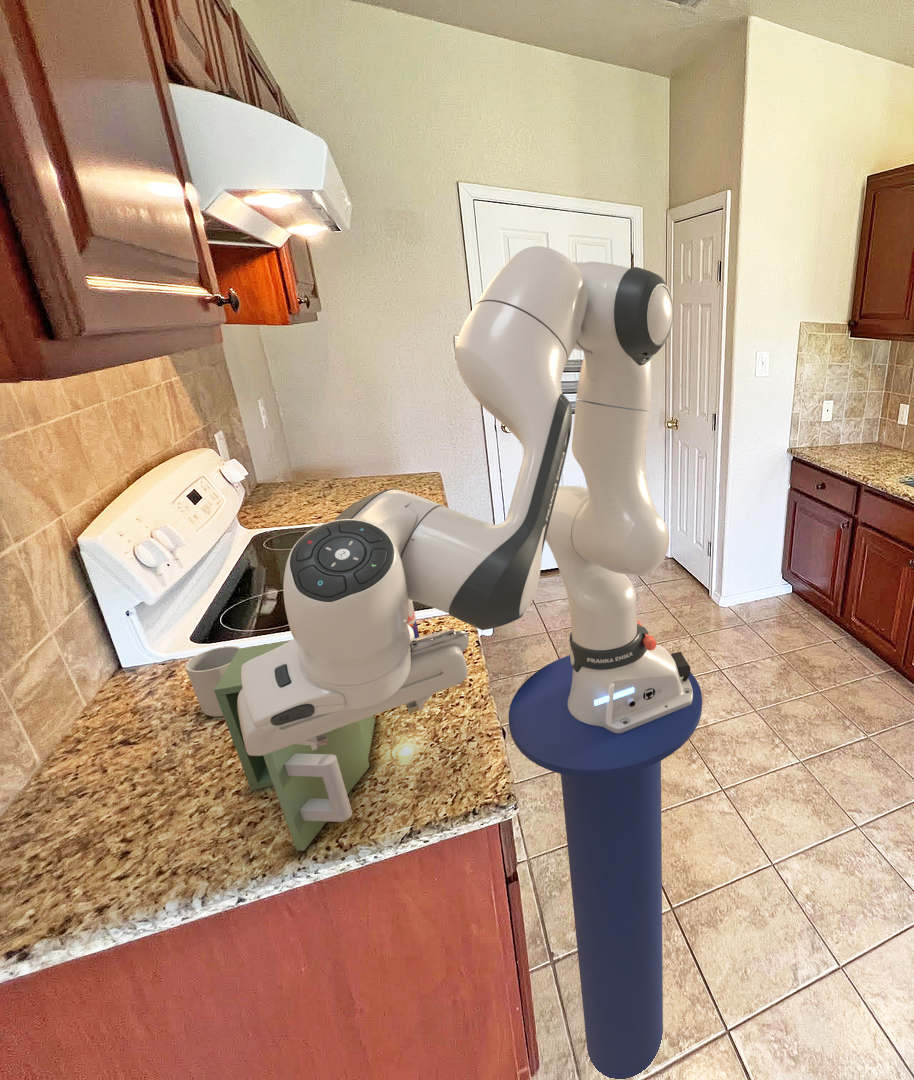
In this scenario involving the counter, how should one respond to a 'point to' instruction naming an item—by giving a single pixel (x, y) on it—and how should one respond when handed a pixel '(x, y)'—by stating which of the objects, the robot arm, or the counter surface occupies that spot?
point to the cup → (209, 676)
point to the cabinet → (227, 700)
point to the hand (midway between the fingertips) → (368, 723)
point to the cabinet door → (317, 781)
